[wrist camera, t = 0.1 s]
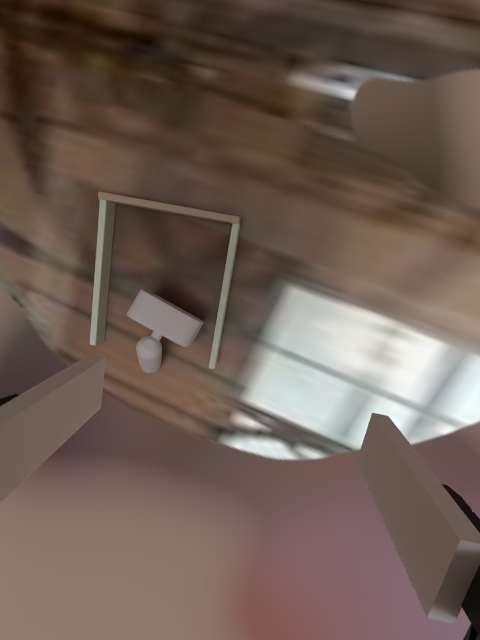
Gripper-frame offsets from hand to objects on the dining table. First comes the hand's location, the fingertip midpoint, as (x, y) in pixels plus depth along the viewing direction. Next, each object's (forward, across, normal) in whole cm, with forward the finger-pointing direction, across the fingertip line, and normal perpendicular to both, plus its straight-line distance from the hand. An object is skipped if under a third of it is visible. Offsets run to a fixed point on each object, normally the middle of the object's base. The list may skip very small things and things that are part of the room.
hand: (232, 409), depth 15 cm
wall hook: (+28, -11, -6) cm, 31 cm away
